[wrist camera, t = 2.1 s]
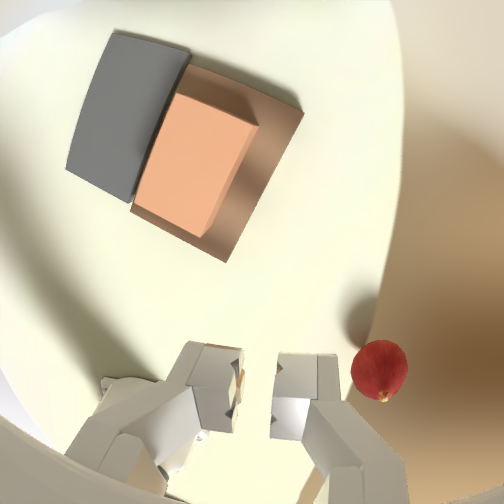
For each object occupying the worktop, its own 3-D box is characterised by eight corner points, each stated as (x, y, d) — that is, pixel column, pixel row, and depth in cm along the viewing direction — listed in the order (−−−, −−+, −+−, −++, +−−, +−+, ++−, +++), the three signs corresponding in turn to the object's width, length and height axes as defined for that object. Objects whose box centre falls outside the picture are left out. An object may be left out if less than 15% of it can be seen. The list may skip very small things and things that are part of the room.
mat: (132, 201, 27) (127, 203, 27) (69, 167, 27) (65, 169, 26) (192, 54, 21) (188, 52, 21) (116, 34, 21) (112, 33, 20)
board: (231, 254, 28) (225, 263, 26) (140, 205, 28) (129, 211, 26) (304, 114, 22) (304, 113, 20) (196, 67, 22) (188, 63, 20)
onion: (408, 344, 29) (426, 397, 22) (367, 372, 31) (375, 426, 24) (381, 315, 28) (398, 369, 21) (337, 345, 30) (342, 403, 23)
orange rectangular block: (211, 225, 25) (200, 237, 22) (151, 194, 25) (134, 202, 22) (259, 126, 21) (253, 125, 18) (191, 96, 21) (176, 92, 18)
